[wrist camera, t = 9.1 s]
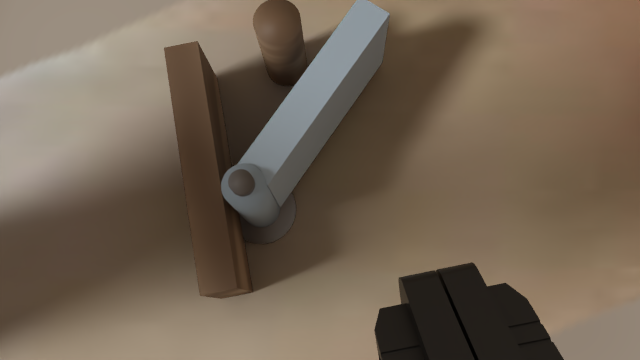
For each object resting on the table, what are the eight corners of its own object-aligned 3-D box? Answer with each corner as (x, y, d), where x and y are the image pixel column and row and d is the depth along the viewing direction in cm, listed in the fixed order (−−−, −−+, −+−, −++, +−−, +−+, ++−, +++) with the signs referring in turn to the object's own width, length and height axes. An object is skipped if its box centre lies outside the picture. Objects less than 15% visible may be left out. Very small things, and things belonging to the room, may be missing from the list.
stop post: (271, 89, 43) (257, 46, 36) (264, 52, 43) (249, 3, 37) (310, 81, 43) (304, 36, 36) (303, 45, 44) (295, -6, 37)
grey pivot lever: (265, 234, 40) (248, 216, 33) (235, 214, 40) (212, 191, 33) (384, 65, 43) (392, 13, 35) (354, 47, 43) (357, -8, 36)
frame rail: (221, 298, 39) (187, 293, 31) (188, 84, 43) (149, 26, 35) (310, 280, 39) (301, 270, 31) (269, 67, 43) (251, 6, 35)
